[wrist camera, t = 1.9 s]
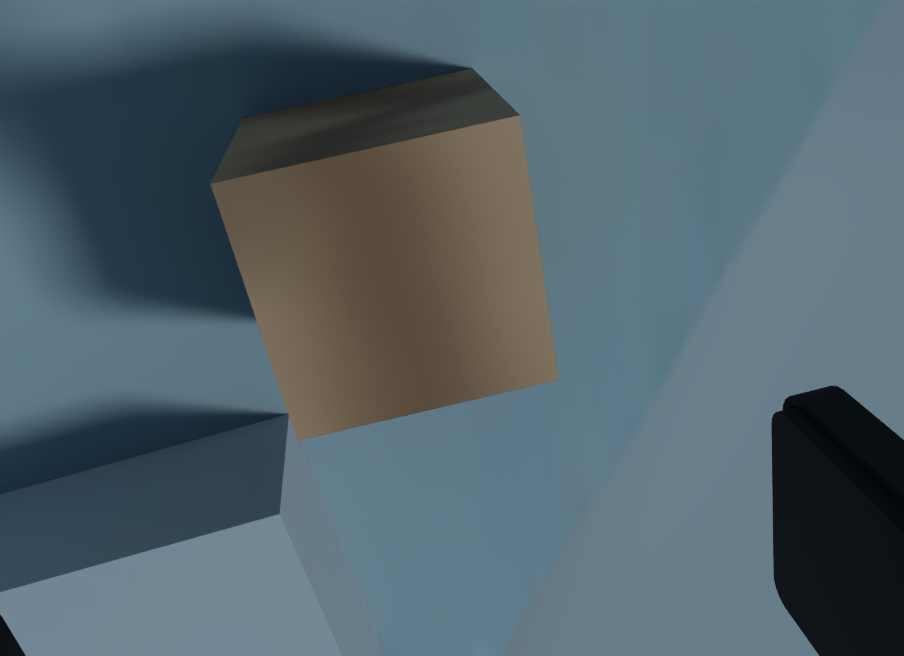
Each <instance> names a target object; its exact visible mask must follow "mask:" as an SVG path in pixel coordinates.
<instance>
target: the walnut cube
mask: <svg viewBox="0 0 904 656" xmlns="http://www.w3.org/2000/svg"><path fill="white" fill-rule="evenodd" d="M211 187H212V190H213V193H214V196H215V199H216V202H217V205H218V208H219V211H220V214H221V217H222V220H223V223H224V226H225V229H226V232H227V235H228V238H229V240H230V243H231V246H232V249H233V252H234V255H235V258H236V261H237V264H238V267H239V270H240V273H241V276H242V279H243V282H244V285H245V288H246V291H247V294H248V297H249V300H250V303H251V305H252V308H253V311H254V314H255V317H256V320H257V323H258V326H259V329H260V332H261V335H262V338H263V341H264V344H265V347H266V350H267V353H268V356H269V359H270V362H271V365H272V368H273V371H274V373H275V376H276V379H277V382H278V385H279V388H280V391H281V394H282V397H283V400H284V403H285V406H286V409H287V412H288V415H289V418H290V421H291V424H292V427H293V430H294V433H295V436H296V438H297V441H299V440H303V439H307V438H312V437H316V436H320V435H324V434H329V433H333V432H337V431H342V430H346V429H350V428H354V427H359V426H363V425H367V424H372V423H376V422H380V421H384V420H389V419H393V418H397V417H401V416H406V415H410V414H414V413H419V412H423V411H427V410H431V409H436V408H440V407H444V406H449V405H453V404H457V403H461V402H466V401H470V400H474V399H479V398H483V397H487V396H491V395H496V394H500V393H504V392H509V391H513V390H517V389H521V388H526V387H530V386H534V385H539V384H543V383H547V382H551V381H556V380H559V377H558V370H557V363H556V356H555V350H554V343H553V336H552V329H551V322H550V316H549V309H548V302H547V295H546V288H545V282H544V275H543V268H542V261H541V255H540V248H539V241H538V234H537V227H536V221H535V214H534V207H533V200H532V193H531V187H530V180H529V173H528V166H527V159H526V153H525V146H524V139H523V132H522V125H521V119H520V115H519V114H518V113H517V112H516V111H515V110H514V109H513V108H512V107H511V106H510V105H509V104H508V103H507V102H506V101H505V100H504V99H503V98H502V97H501V96H500V95H499V94H498V93H497V92H496V91H495V90H494V89H493V88H492V87H491V86H490V85H489V84H488V83H487V82H486V81H485V80H484V79H483V78H482V77H481V76H480V75H479V74H478V73H477V72H476V71H475V70H474V69H472V68H470V69H466V70H461V71H457V72H452V73H448V74H443V75H439V76H434V77H429V78H425V79H420V80H416V81H411V82H407V83H402V84H398V85H393V86H388V87H384V88H379V89H375V90H370V91H366V92H361V93H357V94H352V95H347V96H343V97H338V98H334V99H329V100H325V101H320V102H316V103H311V104H306V105H302V106H297V107H293V108H288V109H284V110H279V111H275V112H270V113H265V114H261V115H256V116H252V117H247V118H243V119H242V120H241V122H240V124H239V126H238V128H237V130H236V132H235V134H234V136H233V138H232V140H231V142H230V144H229V147H228V149H227V151H226V153H225V155H224V157H223V159H222V161H221V163H220V165H219V167H218V169H217V171H216V173H215V175H214V177H213V179H212V182H211Z"/></svg>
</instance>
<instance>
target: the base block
mask: <svg viewBox="0 0 904 656" xmlns="http://www.w3.org/2000/svg"><path fill="white" fill-rule="evenodd" d="M0 615H1V616H2V617H3V619H4V620H5V622H6V624H7V625H8V627H9V629H10V630H11V632H12V634H13V635H14V637H15V639H16V640H17V642H18V644H19V645H20V647H21V649H22V650H23V652H24V654H25V655H26V656H381V651H380V638H379V636H378V633H377V631H376V628H375V626H374V623H373V621H372V618H371V616H370V613H369V611H368V608H367V606H366V604H365V601H364V599H363V596H362V594H361V591H360V589H359V586H358V584H357V581H356V579H355V576H354V574H353V571H352V569H351V566H350V564H349V561H348V559H347V556H346V554H345V551H344V549H343V547H342V544H341V542H340V539H339V537H338V534H337V532H336V529H335V527H334V524H333V522H332V519H331V517H330V514H329V512H328V509H327V507H326V504H325V502H324V499H323V497H322V494H321V492H320V489H319V487H318V485H317V482H316V480H315V477H314V475H313V472H312V470H311V467H310V465H309V462H308V460H307V457H306V455H305V452H304V450H303V447H302V445H301V442H300V440H299V441H297V438H296V436H295V433H294V430H293V427H292V424H291V421H290V418H289V415H288V414H286V415H283V416H279V417H276V418H272V419H269V420H265V421H261V422H258V423H254V424H251V425H247V426H243V427H240V428H236V429H233V430H229V431H226V432H222V433H218V434H215V435H211V436H208V437H204V438H200V439H197V440H193V441H190V442H186V443H183V444H179V445H175V446H172V447H168V448H165V449H161V450H157V451H154V452H150V453H147V454H143V455H140V456H136V457H132V458H129V459H125V460H122V461H118V462H114V463H111V464H107V465H104V466H100V467H97V468H93V469H89V470H86V471H82V472H79V473H75V474H72V475H68V476H64V477H61V478H57V479H54V480H50V481H46V482H43V483H39V484H36V485H32V486H29V487H25V488H21V489H18V490H14V491H11V492H7V493H3V494H0Z"/></svg>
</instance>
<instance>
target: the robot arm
mask: <svg viewBox="0 0 904 656" xmlns="http://www.w3.org/2000/svg"><path fill="white" fill-rule="evenodd" d="M772 479H773V480H772V485H773V557H774V581H775V585H776V589H777V591H778V594H779V597H780V599H781V601H782V603H783V605H784V606H785V608H786V609H787V610H788V612H789V614H790V615H791V616H792V618H793V619H794V621H795V622H796V623H797V625H798V626H799V628H800V629H801V630H802V632H803V633H804V635H805V636H806V637H807V639H808V640H809V642H810V643H811V644H812V646H813V647H814V649H815V650H816V651H817V653H818V654H819V656H904V440H903V439H902V438H900V437H899V436H898V435H897V434H896V433H895V432H893V431H892V430H891V429H890V428H889V427H887V426H886V425H885V424H884V423H882V422H881V421H880V420H879V419H878V418H877V417H875V416H874V415H873V414H872V413H870V412H869V411H868V410H867V409H866V408H865V407H863V406H862V405H861V404H860V403H859V402H857V401H856V400H855V399H854V398H853V397H851V396H850V395H849V394H848V393H847V392H845V391H844V390H843V389H841V388H839V387H838V386H829V387H825V388H821V389H817V390H813V391H809V392H805V393H801V394H797V395H793V396H789V397H788V398H787V399H785V402H784V404H783V411H779V412H776V413H775V414H774V415H773V417H772ZM0 656H26V655H25V654H24V652H23V650H22V649H21V647H20V645H19V644H18V642H17V640H16V639H15V637H14V635H13V634H12V632H11V630H10V629H9V627H8V625H7V624H6V622H5V620H4V619H3V617H2V616H1V615H0Z"/></svg>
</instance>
